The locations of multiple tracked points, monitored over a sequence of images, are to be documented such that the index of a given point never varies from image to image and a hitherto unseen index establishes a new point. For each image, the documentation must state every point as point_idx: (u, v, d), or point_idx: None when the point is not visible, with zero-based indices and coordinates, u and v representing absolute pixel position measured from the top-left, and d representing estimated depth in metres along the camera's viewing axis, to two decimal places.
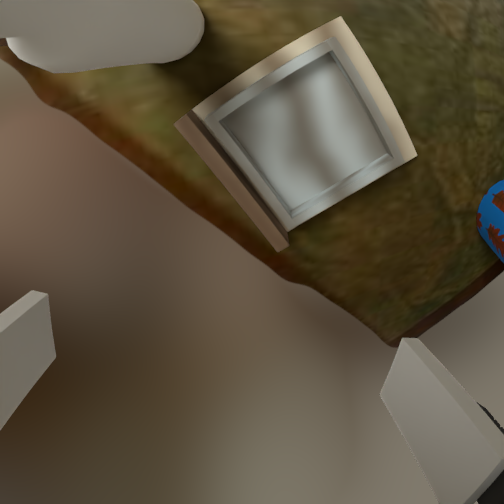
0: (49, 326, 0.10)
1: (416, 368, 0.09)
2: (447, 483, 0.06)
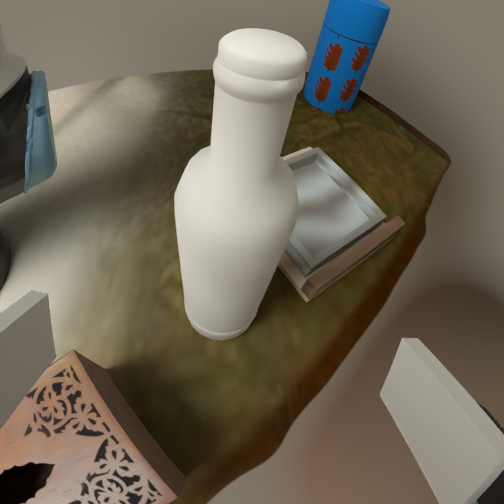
0: (49, 326, 0.10)
1: (416, 367, 0.09)
2: (447, 483, 0.06)
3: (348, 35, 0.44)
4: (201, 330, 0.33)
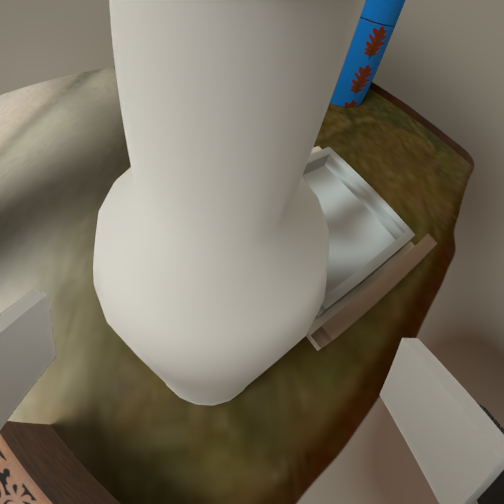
0: (49, 326, 0.10)
1: (416, 367, 0.09)
2: (447, 483, 0.06)
3: (362, 14, 0.34)
4: (180, 397, 0.23)
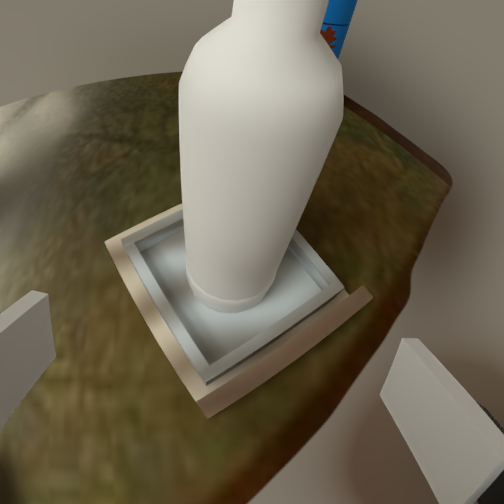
0: (49, 326, 0.10)
1: (416, 367, 0.09)
2: (447, 483, 0.06)
3: None
4: (206, 298, 0.26)
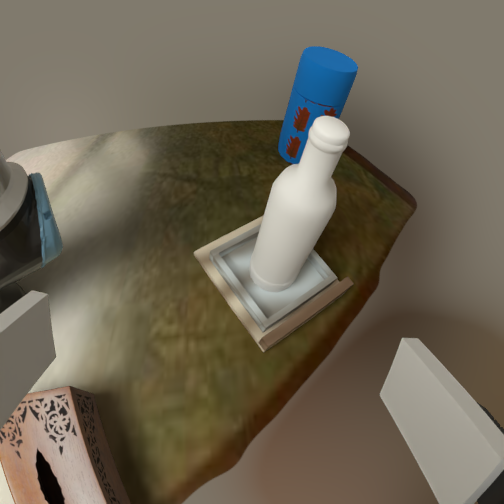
0: (49, 326, 0.10)
1: (416, 368, 0.09)
2: (447, 483, 0.06)
3: (315, 100, 0.54)
4: (263, 283, 0.49)
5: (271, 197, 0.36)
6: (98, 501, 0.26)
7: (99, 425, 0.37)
